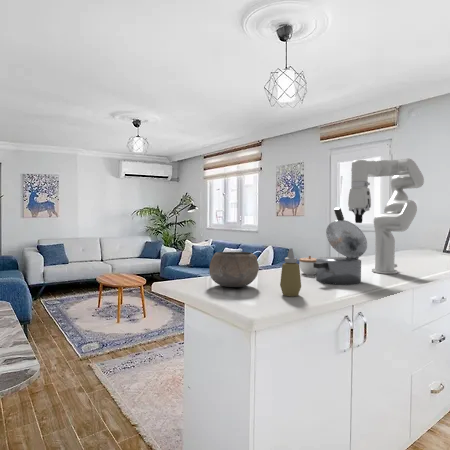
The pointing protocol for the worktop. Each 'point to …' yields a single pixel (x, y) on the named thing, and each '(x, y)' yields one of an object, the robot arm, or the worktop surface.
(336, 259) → the cooker pot
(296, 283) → the squeeze bottle
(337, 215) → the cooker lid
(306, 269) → the lidded jar
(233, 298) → the worktop surface
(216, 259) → the clay pot
